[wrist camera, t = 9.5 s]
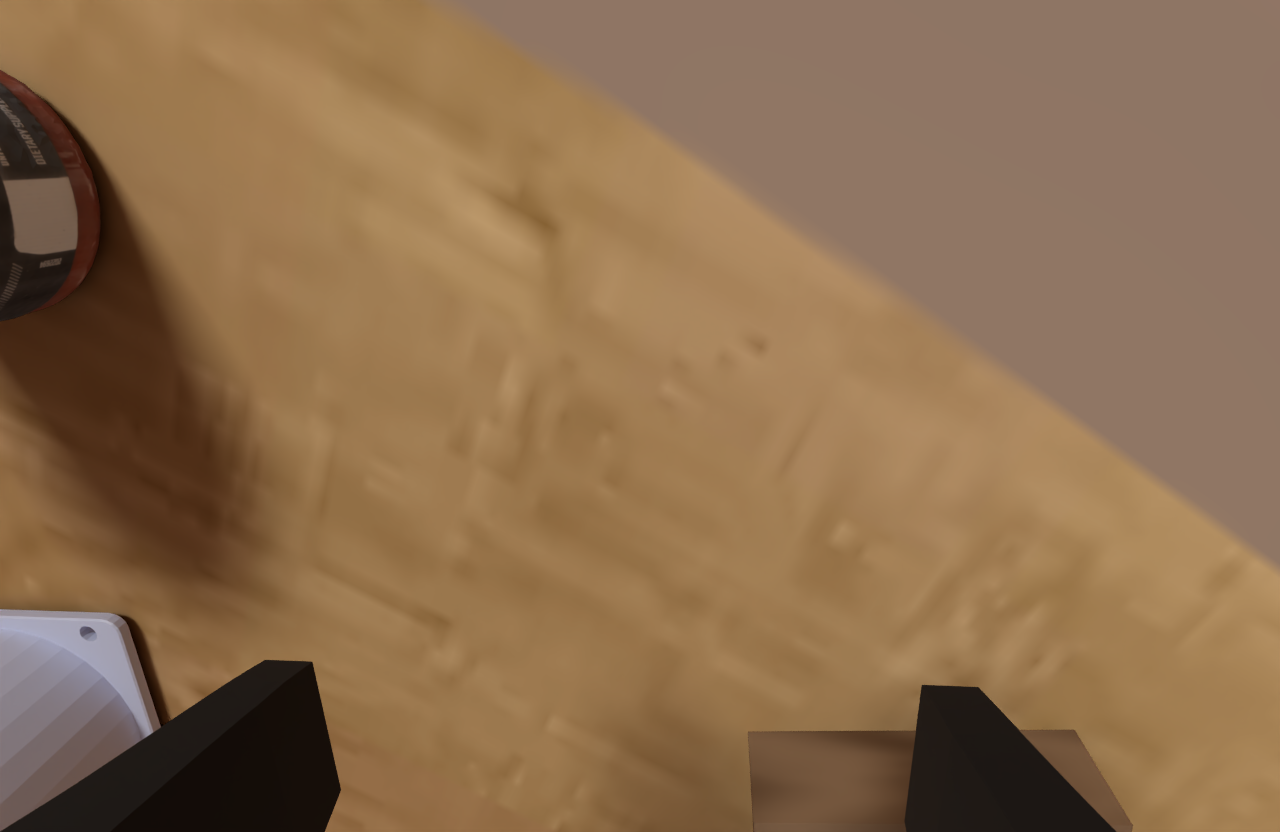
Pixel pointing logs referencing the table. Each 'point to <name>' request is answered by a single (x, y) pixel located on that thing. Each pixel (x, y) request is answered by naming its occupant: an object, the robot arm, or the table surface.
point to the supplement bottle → (41, 205)
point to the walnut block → (879, 779)
